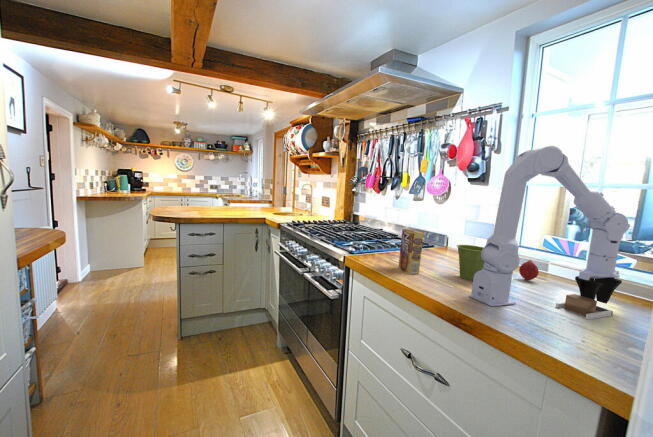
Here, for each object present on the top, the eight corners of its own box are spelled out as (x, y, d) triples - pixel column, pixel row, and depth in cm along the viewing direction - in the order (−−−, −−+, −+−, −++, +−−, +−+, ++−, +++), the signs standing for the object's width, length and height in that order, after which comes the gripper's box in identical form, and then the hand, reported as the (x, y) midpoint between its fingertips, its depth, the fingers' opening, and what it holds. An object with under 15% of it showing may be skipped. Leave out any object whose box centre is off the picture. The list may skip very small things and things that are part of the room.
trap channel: (588, 319, 75) (589, 315, 75) (555, 307, 82) (556, 303, 82) (612, 315, 79) (612, 311, 79) (578, 304, 86) (579, 300, 86)
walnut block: (585, 316, 77) (587, 302, 76) (564, 308, 81) (566, 294, 81) (594, 315, 78) (597, 300, 78) (573, 307, 83) (575, 294, 82)
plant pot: (496, 285, 99) (501, 252, 98) (461, 282, 99) (465, 250, 98) (479, 275, 111) (483, 245, 110) (447, 272, 111) (451, 243, 110)
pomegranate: (540, 284, 104) (543, 262, 103) (522, 282, 105) (525, 260, 104) (532, 279, 110) (535, 258, 109) (515, 277, 111) (518, 256, 110)
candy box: (420, 274, 106) (424, 232, 104) (409, 274, 105) (413, 232, 103) (408, 267, 114) (411, 228, 113) (397, 267, 113) (401, 228, 112)
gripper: (605, 259, 74) (596, 311, 76) (636, 258, 80) (627, 306, 81) (573, 253, 81) (565, 301, 82) (604, 252, 86) (596, 297, 87)
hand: (594, 303), depth 82 cm, fingers open, 7 cm apart
